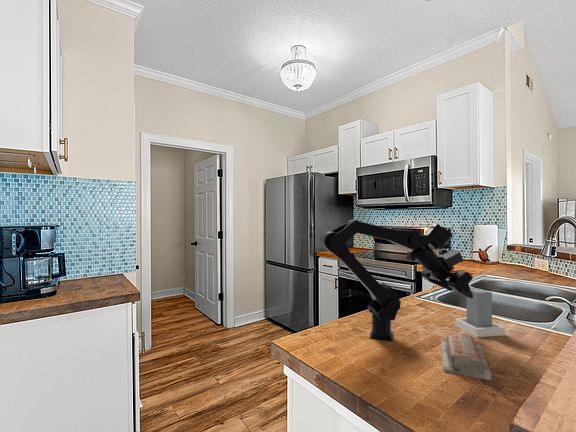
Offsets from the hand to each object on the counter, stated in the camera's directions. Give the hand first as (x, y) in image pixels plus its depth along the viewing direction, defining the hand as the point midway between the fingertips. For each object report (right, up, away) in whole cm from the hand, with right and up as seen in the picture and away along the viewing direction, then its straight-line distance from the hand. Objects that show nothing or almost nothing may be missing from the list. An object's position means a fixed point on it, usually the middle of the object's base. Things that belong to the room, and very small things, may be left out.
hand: (461, 293), depth 98 cm
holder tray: (+6, -12, +1) cm, 14 cm away
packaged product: (-10, -13, -19) cm, 25 cm away
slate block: (+6, -12, +1) cm, 14 cm away
